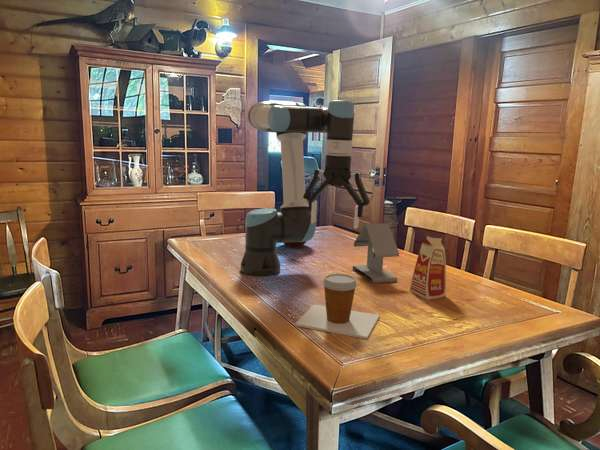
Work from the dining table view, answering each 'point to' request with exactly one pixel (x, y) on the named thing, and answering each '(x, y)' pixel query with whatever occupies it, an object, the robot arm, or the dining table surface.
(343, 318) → the disposable coffee cup
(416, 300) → the dining table surface
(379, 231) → the folded metal stand
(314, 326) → the grey mat
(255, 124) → the robot arm
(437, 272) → the milk carton
